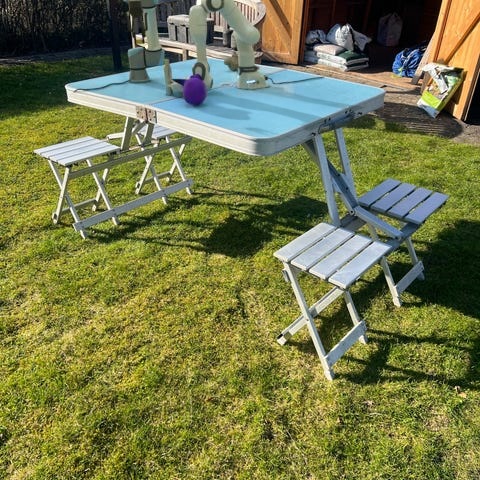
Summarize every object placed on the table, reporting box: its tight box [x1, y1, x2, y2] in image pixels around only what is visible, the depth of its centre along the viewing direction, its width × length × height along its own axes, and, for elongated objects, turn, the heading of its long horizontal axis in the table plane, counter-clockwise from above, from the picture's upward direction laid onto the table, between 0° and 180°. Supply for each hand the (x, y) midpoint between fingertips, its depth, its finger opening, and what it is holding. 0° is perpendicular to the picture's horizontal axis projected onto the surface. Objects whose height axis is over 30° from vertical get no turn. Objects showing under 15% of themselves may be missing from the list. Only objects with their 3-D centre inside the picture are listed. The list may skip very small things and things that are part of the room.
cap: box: [135, 38, 144, 45], centre depth 273 cm, size 4×4×2 cm
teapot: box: [223, 50, 239, 72], centre depth 366 cm, size 21×12×15 cm, turn 120°
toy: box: [172, 74, 208, 106], centre depth 273 cm, size 16×18×27 cm
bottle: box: [163, 58, 175, 96], centre depth 293 cm, size 5×5×22 cm
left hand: (139, 43), depth 273 cm, fingers closed on cap, 4 cm apart
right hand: (167, 84), depth 295 cm, fingers closed on bottle, 5 cm apart
